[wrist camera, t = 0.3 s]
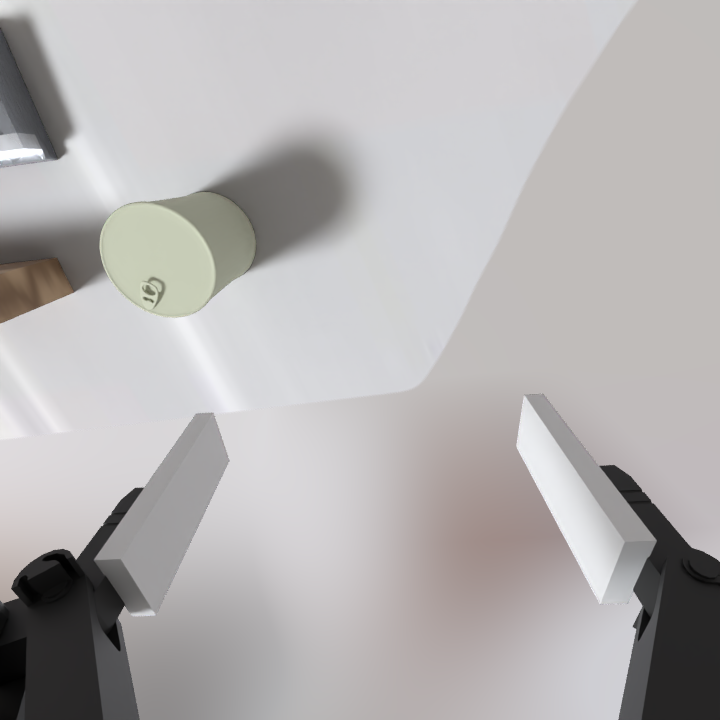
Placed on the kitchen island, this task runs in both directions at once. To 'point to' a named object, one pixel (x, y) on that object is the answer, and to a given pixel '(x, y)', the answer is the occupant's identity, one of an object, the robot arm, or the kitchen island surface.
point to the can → (176, 251)
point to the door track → (19, 118)
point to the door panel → (30, 286)
